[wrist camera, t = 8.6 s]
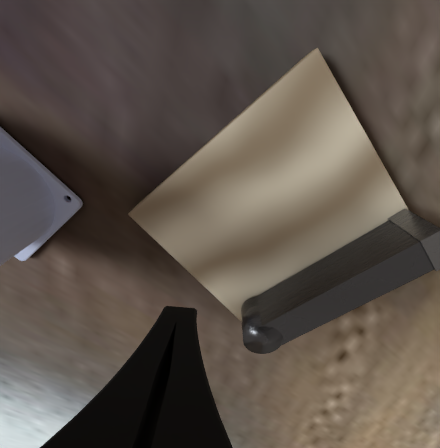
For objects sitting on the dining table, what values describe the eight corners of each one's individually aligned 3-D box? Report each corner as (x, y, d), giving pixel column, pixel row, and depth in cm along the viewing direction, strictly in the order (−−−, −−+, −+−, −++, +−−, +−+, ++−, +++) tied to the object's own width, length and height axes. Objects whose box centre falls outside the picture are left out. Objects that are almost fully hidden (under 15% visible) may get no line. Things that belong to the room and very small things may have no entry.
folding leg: (253, 326, 22) (258, 360, 19) (233, 306, 21) (235, 338, 18) (419, 236, 18) (457, 262, 15) (404, 207, 17) (441, 228, 14)
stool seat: (134, 206, 19) (119, 223, 16) (308, 53, 15) (327, 41, 12) (254, 322, 24) (258, 350, 21) (412, 231, 19) (442, 252, 17)
